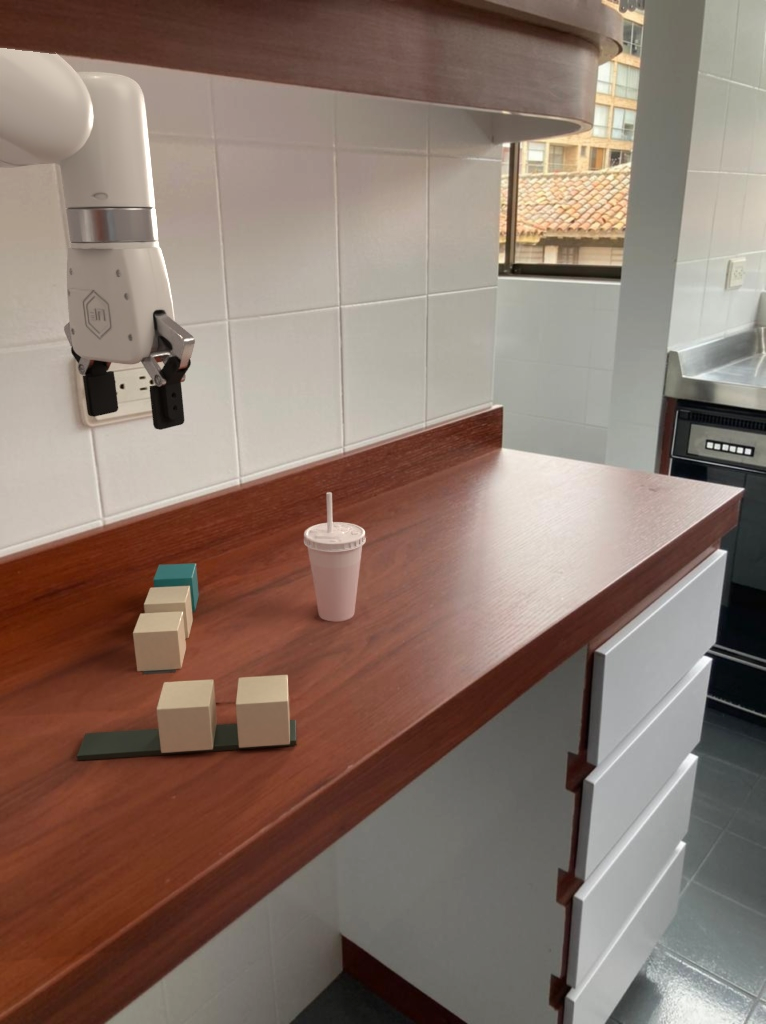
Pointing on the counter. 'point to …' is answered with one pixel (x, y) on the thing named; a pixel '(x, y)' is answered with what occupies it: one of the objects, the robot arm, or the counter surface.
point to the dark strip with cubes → (204, 722)
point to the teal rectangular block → (178, 578)
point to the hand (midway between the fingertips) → (135, 419)
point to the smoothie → (335, 565)
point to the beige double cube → (163, 630)
